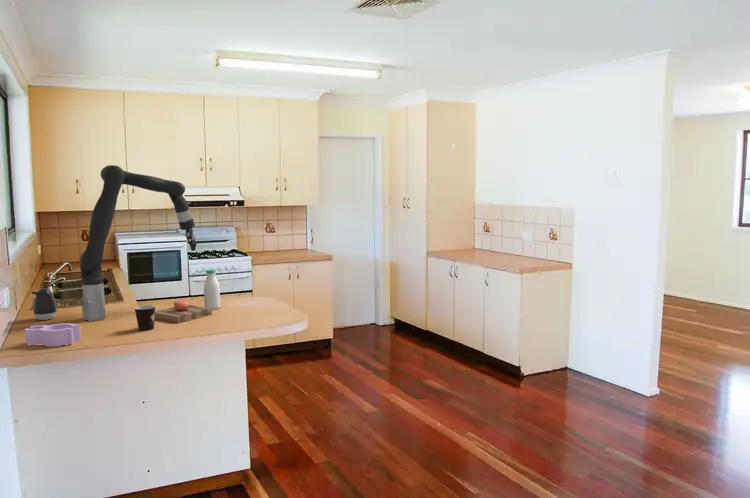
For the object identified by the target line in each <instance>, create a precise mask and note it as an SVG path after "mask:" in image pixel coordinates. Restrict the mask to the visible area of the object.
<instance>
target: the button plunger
mask: <svg viewBox="0 0 750 498" xmlns="http://www.w3.org/2000/svg"><path fill="white" fill-rule="evenodd" d="M189 305H190V301H189V300H179V301H175V302H173V307H174V309H175V310H184V309H188V308H189Z"/></svg>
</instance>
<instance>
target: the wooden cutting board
mask: <svg viewBox="0 0 750 498" xmlns="http://www.w3.org/2000/svg"><path fill="white" fill-rule="evenodd" d="M212 315H213V309H211V308H205V306H199V305H193V304H189V308H188V309H184V310H175V309H174V306H171V307H167V308H162V309H158V310H155V319H154V320H159V319H160V320H161V321H164V320H165V321H166V322H171V323H176V324H182V323H186V322H189V321H192V320H197V319H201V318H204V317H208V316H212ZM165 321H164V322H165Z"/></svg>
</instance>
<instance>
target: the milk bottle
mask: <svg viewBox="0 0 750 498" xmlns="http://www.w3.org/2000/svg"><path fill="white" fill-rule="evenodd" d="M205 272H206V279H205V282H204V283H203V294H204V296H203V297H204V299H203V300H204V307H205V308H211V309H212V310H218V309H220V308H221V295H220V293H221V291H220V284H219V283H220V282H219V281H218V279H217V277H216V273H217V271H216V269H215V268H214V269H206V271H205Z"/></svg>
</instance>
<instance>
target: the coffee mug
mask: <svg viewBox="0 0 750 498" xmlns="http://www.w3.org/2000/svg"><path fill="white" fill-rule="evenodd" d="M134 311H135V316H136V322H137V323H136V324H137V329H138V331H141V332H147V331H152V330H154V329H155V319H154V318H155V311H156V305H153V304H151V305H150V304H145V305H139V306H135V307H134Z"/></svg>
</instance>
